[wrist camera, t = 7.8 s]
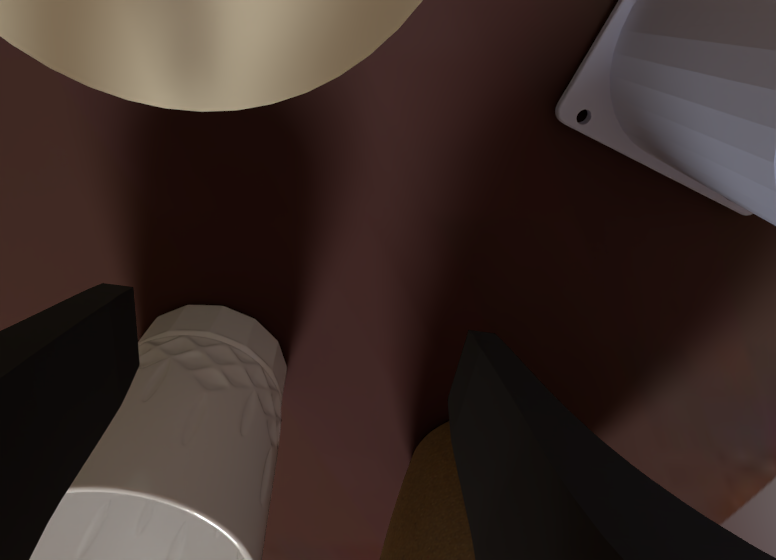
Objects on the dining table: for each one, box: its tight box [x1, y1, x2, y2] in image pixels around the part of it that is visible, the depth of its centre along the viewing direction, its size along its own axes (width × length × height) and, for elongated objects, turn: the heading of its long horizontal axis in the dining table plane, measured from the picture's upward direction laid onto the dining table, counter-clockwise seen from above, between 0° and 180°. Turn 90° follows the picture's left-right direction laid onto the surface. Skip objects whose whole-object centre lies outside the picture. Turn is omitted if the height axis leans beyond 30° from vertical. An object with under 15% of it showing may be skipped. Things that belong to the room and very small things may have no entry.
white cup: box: [29, 305, 287, 560], centre depth 19 cm, size 8×8×10 cm
